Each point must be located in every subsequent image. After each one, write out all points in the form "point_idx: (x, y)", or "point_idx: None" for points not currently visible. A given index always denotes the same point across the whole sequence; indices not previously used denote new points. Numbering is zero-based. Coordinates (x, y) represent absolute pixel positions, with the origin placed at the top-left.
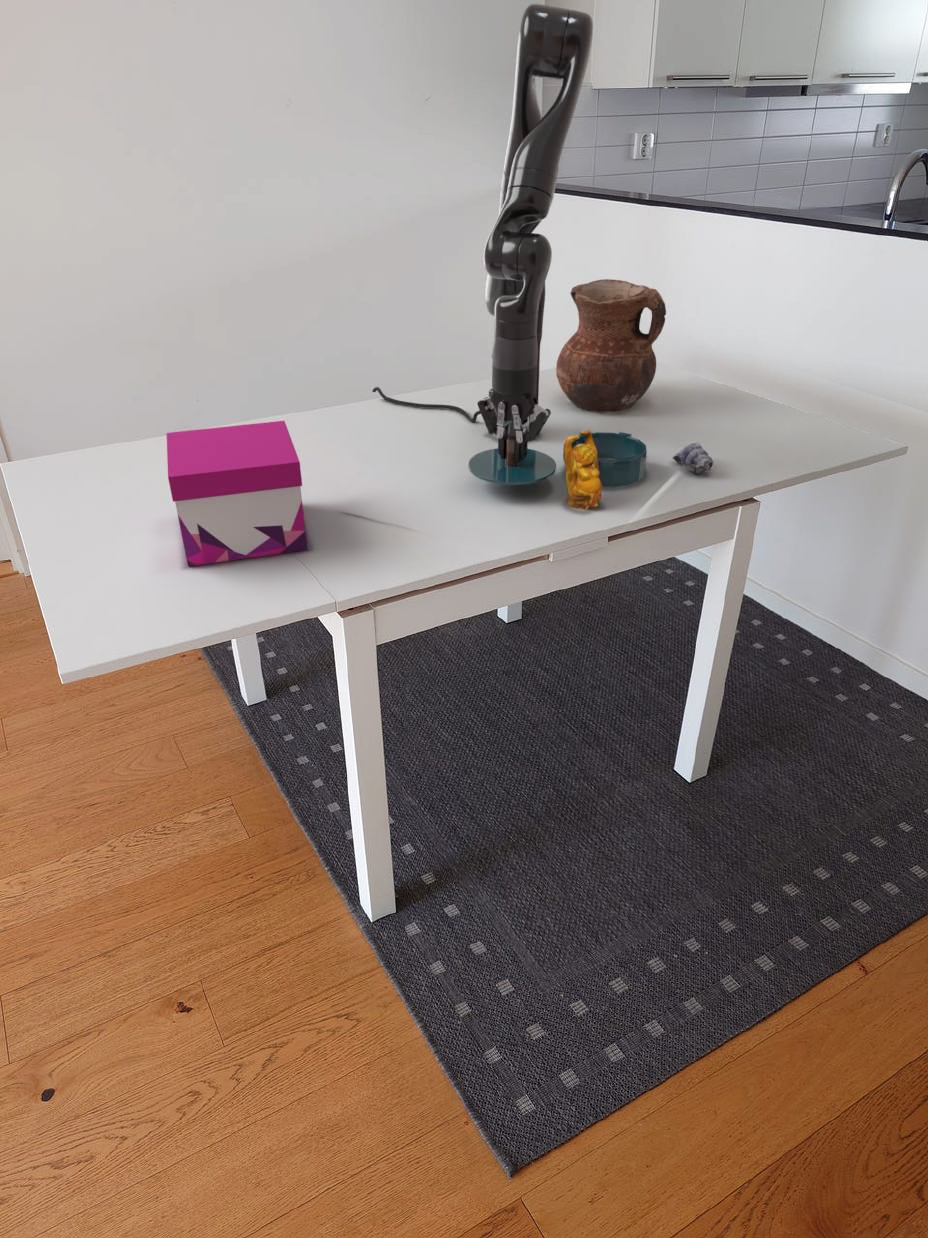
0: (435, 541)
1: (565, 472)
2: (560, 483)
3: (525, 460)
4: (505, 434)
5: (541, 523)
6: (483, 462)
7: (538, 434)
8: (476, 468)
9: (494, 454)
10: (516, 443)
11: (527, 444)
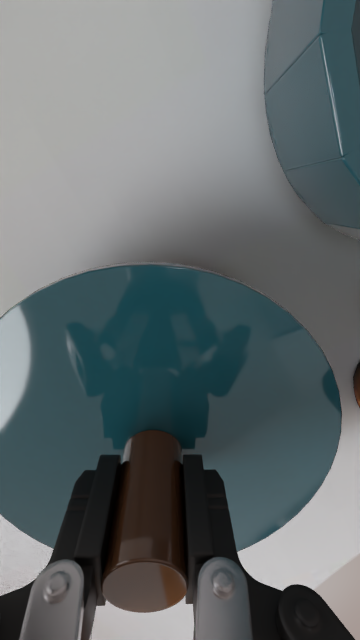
0: (147, 625)
1: (290, 179)
2: (288, 260)
3: (186, 400)
4: (91, 620)
5: (316, 504)
6: (42, 486)
7: (336, 623)
8: (58, 533)
9: (24, 408)
10: (190, 598)
11: (233, 536)
